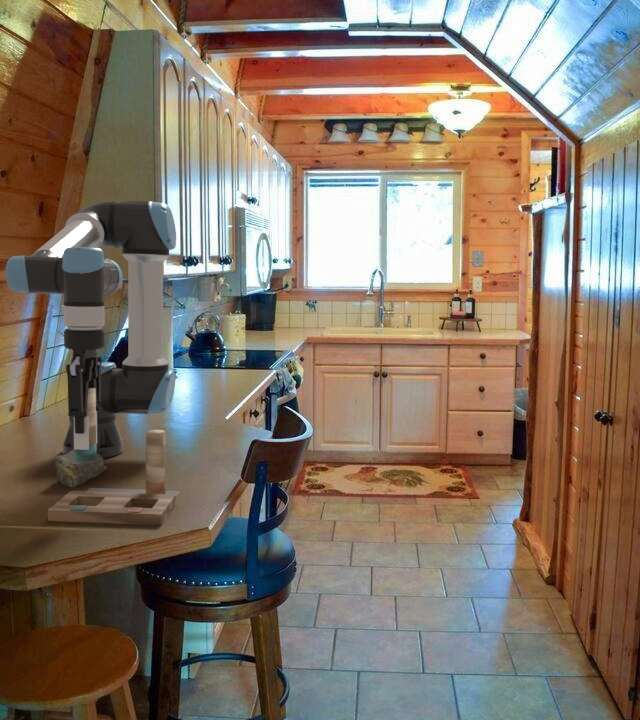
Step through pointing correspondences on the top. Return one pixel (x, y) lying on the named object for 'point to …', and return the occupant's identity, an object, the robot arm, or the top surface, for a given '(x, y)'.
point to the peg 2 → (155, 462)
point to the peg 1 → (91, 412)
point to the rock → (77, 469)
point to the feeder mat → (128, 491)
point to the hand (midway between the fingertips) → (85, 445)
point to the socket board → (113, 508)
